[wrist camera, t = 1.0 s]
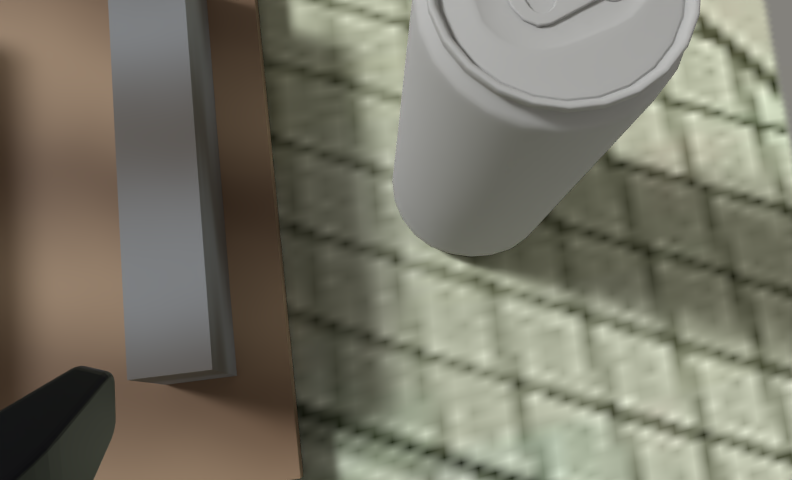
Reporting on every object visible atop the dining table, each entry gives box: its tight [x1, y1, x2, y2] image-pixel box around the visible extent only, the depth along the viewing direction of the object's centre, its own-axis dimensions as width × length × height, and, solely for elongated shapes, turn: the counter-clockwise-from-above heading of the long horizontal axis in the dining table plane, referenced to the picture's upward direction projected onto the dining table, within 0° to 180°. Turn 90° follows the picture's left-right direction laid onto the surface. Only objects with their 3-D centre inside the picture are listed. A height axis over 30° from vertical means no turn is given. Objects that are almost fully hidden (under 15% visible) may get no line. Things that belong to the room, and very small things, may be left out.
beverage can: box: [392, 0, 700, 256], centre depth 18 cm, size 5×5×12 cm
